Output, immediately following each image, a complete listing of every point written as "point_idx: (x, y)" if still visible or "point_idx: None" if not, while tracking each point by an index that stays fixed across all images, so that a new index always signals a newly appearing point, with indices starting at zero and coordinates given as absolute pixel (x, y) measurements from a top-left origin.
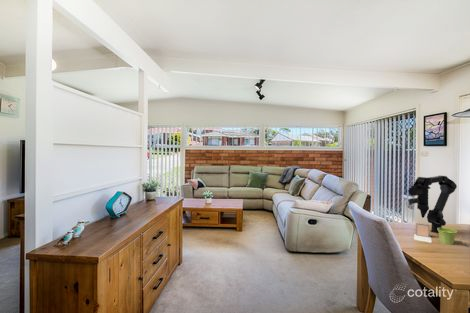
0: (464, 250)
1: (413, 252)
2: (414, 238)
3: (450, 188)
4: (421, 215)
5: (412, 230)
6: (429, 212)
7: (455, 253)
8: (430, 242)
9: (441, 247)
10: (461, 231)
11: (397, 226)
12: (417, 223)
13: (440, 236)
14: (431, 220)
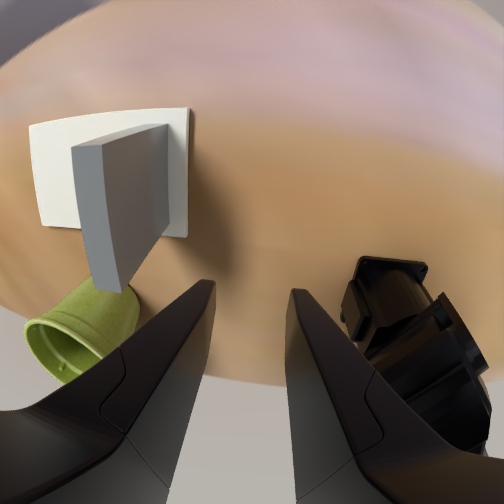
0: None
1: None
2: (51, 124)
3: None
4: (170, 304)
5: (362, 106)
6: (467, 406)
7: (13, 292)
8: (41, 219)
9: (31, 259)
10: None
11: (431, 8)
12: (93, 160)
13: (65, 298)
14: (398, 342)
